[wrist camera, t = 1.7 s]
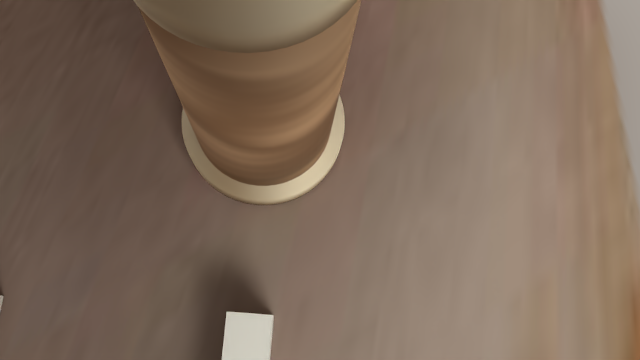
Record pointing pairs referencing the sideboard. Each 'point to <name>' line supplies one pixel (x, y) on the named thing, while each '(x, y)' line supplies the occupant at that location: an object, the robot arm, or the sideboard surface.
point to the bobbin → (257, 88)
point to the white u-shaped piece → (244, 336)
